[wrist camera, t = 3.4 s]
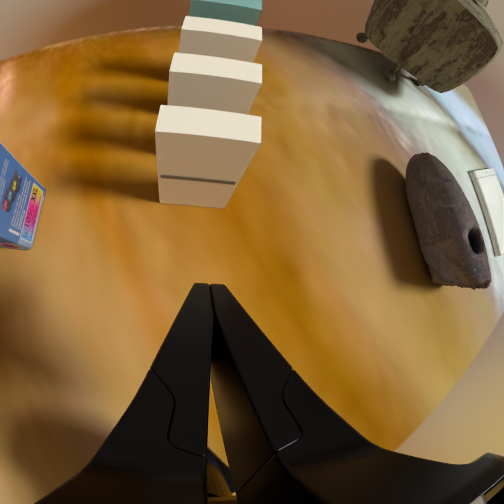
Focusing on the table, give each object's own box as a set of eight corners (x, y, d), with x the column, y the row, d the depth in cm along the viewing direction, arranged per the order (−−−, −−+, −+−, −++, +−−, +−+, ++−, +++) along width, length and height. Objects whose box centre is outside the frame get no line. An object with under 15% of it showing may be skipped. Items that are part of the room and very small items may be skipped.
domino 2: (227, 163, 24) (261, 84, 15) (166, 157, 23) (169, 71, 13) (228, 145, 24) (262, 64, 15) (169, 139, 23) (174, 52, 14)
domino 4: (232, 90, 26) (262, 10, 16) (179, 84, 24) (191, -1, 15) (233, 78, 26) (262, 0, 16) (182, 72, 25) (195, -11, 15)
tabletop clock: (427, 85, 35) (531, -1, 11) (426, 120, 33) (556, 25, 9) (349, 29, 33) (439, -84, 9) (336, 57, 31) (449, -83, 7)
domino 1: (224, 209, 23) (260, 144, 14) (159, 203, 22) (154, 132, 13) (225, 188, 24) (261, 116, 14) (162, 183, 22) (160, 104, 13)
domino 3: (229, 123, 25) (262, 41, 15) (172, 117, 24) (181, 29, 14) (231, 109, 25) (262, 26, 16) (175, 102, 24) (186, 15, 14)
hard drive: (518, 242, 34) (494, 167, 35) (501, 255, 31) (474, 170, 32) (510, 244, 35) (487, 170, 36) (492, 257, 33) (466, 174, 34)
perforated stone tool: (383, 166, 29) (426, 137, 22) (414, 164, 30) (455, 138, 24) (425, 306, 27) (478, 301, 20) (452, 290, 29) (501, 283, 22)
